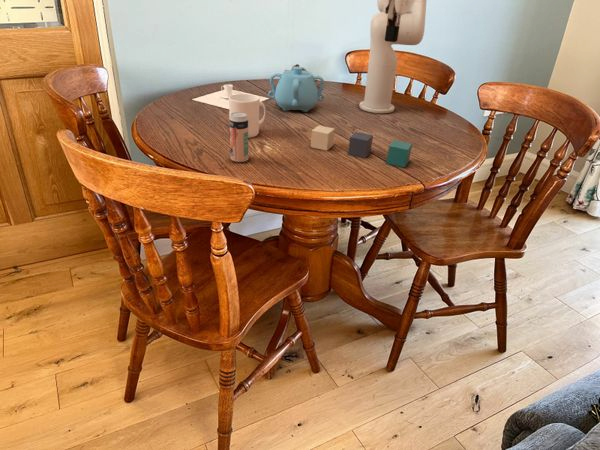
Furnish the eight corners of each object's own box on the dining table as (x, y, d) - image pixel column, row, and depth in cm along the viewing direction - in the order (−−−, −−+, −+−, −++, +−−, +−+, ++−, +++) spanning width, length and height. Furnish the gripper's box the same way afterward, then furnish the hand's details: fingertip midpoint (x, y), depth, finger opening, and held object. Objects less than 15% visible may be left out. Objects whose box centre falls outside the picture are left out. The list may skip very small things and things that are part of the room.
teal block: (391, 157, 127) (393, 140, 124) (409, 160, 125) (412, 143, 123) (386, 163, 123) (389, 145, 120) (404, 167, 121) (408, 149, 119)
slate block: (353, 148, 131) (355, 131, 129) (370, 152, 130) (373, 135, 127) (348, 154, 127) (349, 137, 125) (365, 158, 126) (367, 140, 123)
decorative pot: (263, 104, 164) (264, 64, 157) (300, 98, 172) (302, 60, 165) (290, 117, 153) (291, 75, 146) (328, 110, 161) (331, 70, 154)
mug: (274, 133, 139) (274, 97, 133) (240, 140, 132) (240, 103, 126) (257, 125, 144) (257, 90, 139) (224, 132, 137) (223, 96, 132)
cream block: (317, 141, 134) (318, 125, 132) (333, 145, 133) (334, 128, 130) (310, 147, 130) (311, 130, 128) (326, 150, 129) (328, 133, 126)
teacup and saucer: (245, 96, 170) (245, 85, 168) (231, 101, 164) (231, 89, 162) (227, 92, 174) (227, 81, 172) (213, 96, 168) (212, 85, 166)
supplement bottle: (230, 155, 122) (229, 111, 116) (248, 156, 123) (248, 111, 116) (229, 163, 118) (228, 117, 112) (248, 163, 119) (248, 117, 112)
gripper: (409, -33, 112) (397, 46, 122) (422, -34, 124) (410, 39, 133) (379, -35, 115) (370, 43, 124) (394, -36, 126) (385, 36, 136)
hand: (390, 41), depth 129 cm, fingers closed
